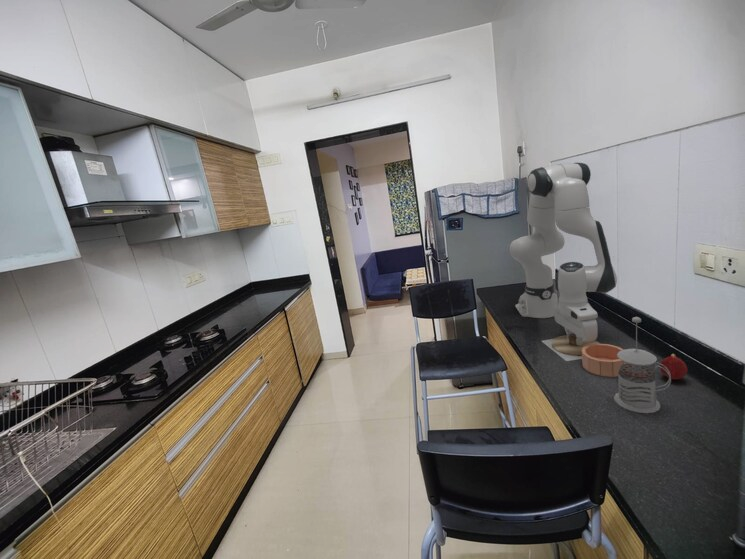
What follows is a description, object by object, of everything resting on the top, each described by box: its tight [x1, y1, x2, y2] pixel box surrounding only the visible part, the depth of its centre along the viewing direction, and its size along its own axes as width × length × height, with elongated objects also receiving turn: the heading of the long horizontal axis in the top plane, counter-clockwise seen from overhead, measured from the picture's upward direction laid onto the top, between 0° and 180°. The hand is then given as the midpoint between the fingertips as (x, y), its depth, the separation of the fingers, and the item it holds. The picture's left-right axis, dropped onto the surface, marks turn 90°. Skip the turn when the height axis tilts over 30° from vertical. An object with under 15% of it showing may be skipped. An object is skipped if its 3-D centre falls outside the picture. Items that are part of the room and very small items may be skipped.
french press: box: [613, 316, 672, 414], centre depth 83 cm, size 10×12×25 cm
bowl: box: [581, 343, 628, 378], centre depth 102 cm, size 12×12×6 cm
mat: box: [541, 338, 601, 362], centre depth 118 cm, size 17×17×1 cm
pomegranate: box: [659, 353, 688, 380], centre depth 91 cm, size 6×6×8 cm
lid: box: [552, 333, 599, 356], centre depth 117 cm, size 15×15×4 cm
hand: (574, 341), depth 117 cm, fingers closed on lid, 3 cm apart
